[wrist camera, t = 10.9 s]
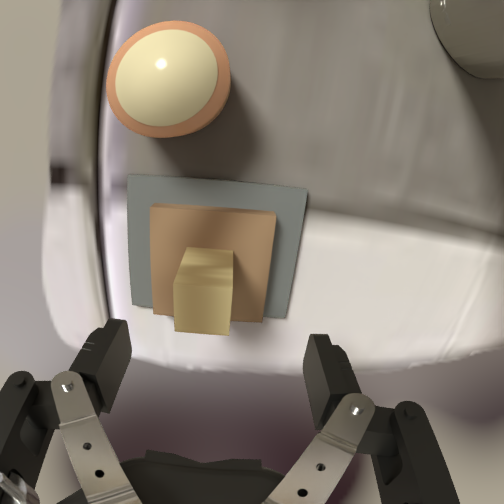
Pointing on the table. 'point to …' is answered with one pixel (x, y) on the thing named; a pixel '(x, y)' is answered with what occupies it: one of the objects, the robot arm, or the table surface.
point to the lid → (209, 265)
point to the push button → (169, 80)
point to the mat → (218, 195)
